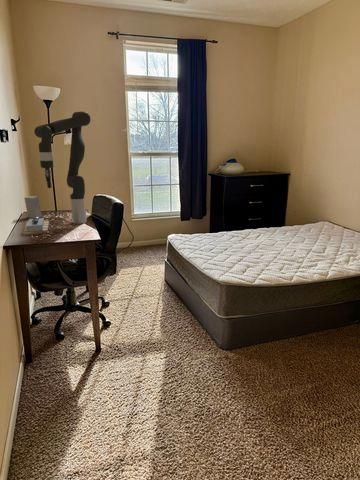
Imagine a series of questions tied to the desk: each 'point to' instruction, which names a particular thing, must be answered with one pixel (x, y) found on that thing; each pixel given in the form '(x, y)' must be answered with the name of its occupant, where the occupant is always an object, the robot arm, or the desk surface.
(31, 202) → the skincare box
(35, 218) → the bosses
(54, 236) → the desk surface
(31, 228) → the panel
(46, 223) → the board
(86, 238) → the desk surface
